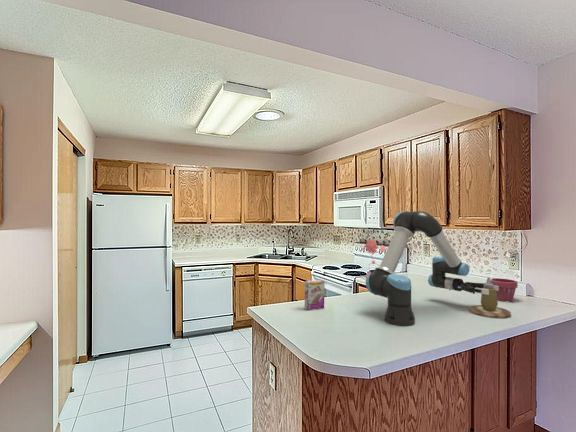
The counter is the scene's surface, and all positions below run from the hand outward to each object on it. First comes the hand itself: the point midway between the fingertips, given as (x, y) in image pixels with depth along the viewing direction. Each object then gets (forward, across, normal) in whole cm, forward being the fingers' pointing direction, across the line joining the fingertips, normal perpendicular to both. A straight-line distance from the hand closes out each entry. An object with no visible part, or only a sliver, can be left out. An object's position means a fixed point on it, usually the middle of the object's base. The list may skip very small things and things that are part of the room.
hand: (493, 290), depth 176 cm
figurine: (-104, -26, -13) cm, 108 cm away
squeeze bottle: (-2, 0, -12) cm, 12 cm away
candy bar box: (-70, +71, -13) cm, 101 cm away
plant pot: (-8, -38, -13) cm, 40 cm away
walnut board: (-2, 0, -13) cm, 13 cm away
